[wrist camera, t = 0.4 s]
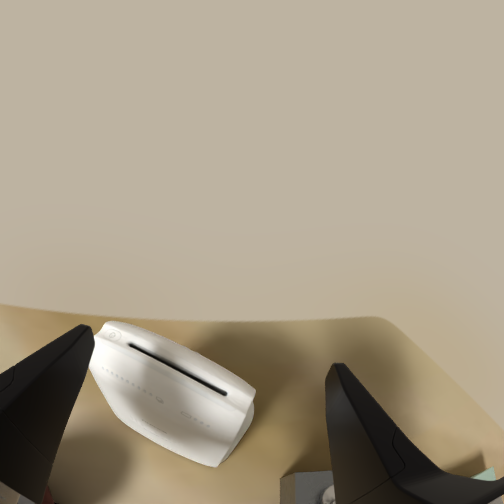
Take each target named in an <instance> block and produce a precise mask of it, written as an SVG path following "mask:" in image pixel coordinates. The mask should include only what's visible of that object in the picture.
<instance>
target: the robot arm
mask: <svg viewBox="0 0 504 504" xmlns="http://www.w3.org/2000/svg"><path fill="white" fill-rule="evenodd" d="M94 348H95V340H94V336H93V332H92V329H91V327H90V326H87V325H84V324H80V325H78V326H77V327H75V328H73V329H72V330H70V331H68V332H67V333H65V334H63V335H62V336H60V337H59V338H57V339H55V340H54V341H52V342H51V343H49V344H47V345H46V346H44V347H42V348H41V349H39V350H38V351H36V352H35V353H33V354H31V355H30V356H28V357H27V358H25V359H23V360H22V361H20V362H19V363H17V364H16V365H15V366H12V367H11V368H9V369H8V370H6V371H4V372H3V373H1V374H0V504H18V499H19V496H20V495H22V496H24V497H25V498H27V499H29V500H30V501H32V502H34V503H36V504H42V501H43V497H44V493H45V490H46V486H47V483H48V479H49V476H50V472H51V469H52V466H53V462H54V459H55V456H56V453H57V450H58V447H59V444H60V441H61V438H62V436H63V433H64V430H65V427H66V425H67V422H68V419H69V417H70V414H71V411H72V409H73V406H74V404H75V401H76V399H77V396H78V394H79V392H80V389H81V387H82V384H83V382H84V379H85V376H86V373H87V370H88V367H89V363H90V360H91V357H92V354H93V351H94ZM325 395H326V423H327V430H328V438H329V447H330V455H331V464H332V473H333V483H334V493H335V504H503V501H502V498H501V496H502V495H503V494H504V477H502V478H500V479H498V480H494V481H487V480H480V479H474V478H468V477H463V476H458V475H453V474H449V473H447V472H445V471H443V470H441V469H440V468H439V467H437V466H436V465H435V464H434V463H433V462H432V461H431V460H430V459H429V458H428V457H427V456H425V455H424V454H423V453H422V452H421V451H420V450H419V449H418V448H417V447H416V446H415V445H414V444H413V443H412V442H411V441H410V440H409V439H408V438H407V437H406V435H405V434H404V433H403V432H402V431H401V430H400V428H399V427H397V425H396V424H395V423H394V422H393V420H392V419H391V418H390V417H389V416H388V414H387V413H386V412H385V411H384V410H383V409H382V407H381V406H380V405H379V404H378V403H377V401H376V400H375V399H374V398H373V397H372V396H371V394H370V393H369V392H368V391H367V390H366V388H365V387H364V386H363V385H362V384H361V383H360V381H359V380H358V379H357V378H356V377H355V375H354V374H353V373H352V372H351V371H350V370H349V368H348V367H347V366H346V365H345V364H344V363H333V364H332V366H331V368H330V370H329V372H328V374H327V376H326V379H325Z"/></svg>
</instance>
